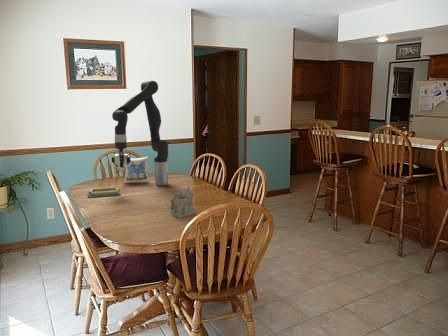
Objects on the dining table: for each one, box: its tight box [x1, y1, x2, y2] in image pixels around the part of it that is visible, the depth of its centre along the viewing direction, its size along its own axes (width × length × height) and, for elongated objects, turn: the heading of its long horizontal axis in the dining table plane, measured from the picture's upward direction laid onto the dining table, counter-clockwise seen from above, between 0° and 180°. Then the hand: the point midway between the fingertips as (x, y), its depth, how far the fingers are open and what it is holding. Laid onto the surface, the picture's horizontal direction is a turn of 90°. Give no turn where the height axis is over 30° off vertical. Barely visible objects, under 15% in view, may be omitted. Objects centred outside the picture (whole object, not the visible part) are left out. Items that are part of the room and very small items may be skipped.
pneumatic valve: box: [111, 153, 132, 172], centre depth 253 cm, size 6×12×12 cm, turn 95°
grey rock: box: [169, 185, 196, 218], centre depth 211 cm, size 16×16×15 cm
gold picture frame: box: [87, 186, 122, 199], centre depth 253 cm, size 20×14×3 cm
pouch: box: [123, 155, 150, 184], centre depth 286 cm, size 8×19×20 cm, turn 101°
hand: (121, 166), depth 253 cm, fingers closed on pneumatic valve, 5 cm apart
